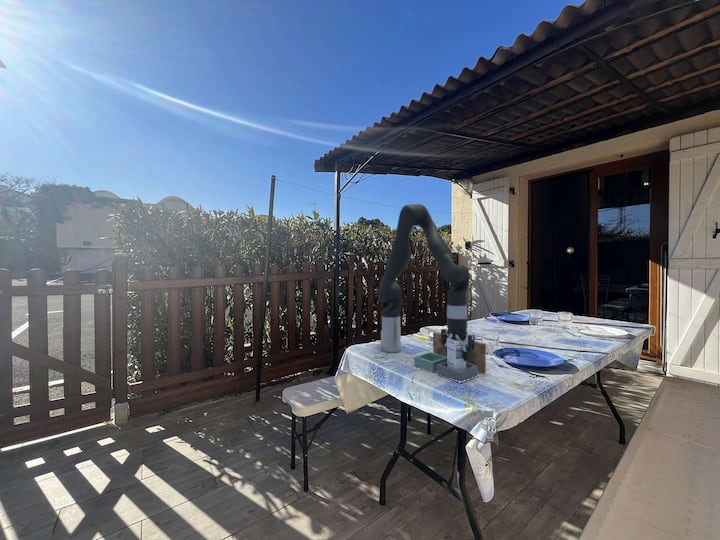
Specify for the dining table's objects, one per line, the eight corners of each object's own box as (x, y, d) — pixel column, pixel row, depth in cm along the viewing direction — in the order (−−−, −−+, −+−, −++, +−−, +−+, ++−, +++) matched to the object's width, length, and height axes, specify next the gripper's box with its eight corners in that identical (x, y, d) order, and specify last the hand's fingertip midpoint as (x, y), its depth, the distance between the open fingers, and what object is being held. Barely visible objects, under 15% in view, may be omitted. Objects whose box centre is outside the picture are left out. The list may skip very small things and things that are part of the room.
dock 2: (437, 374, 123) (437, 364, 123) (454, 368, 130) (454, 358, 130) (461, 383, 114) (461, 372, 114) (478, 375, 121) (478, 365, 121)
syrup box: (455, 379, 119) (454, 341, 118) (446, 373, 124) (446, 337, 124) (468, 377, 120) (468, 339, 119) (459, 371, 126) (459, 336, 125)
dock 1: (414, 365, 134) (414, 356, 133) (430, 360, 140) (429, 351, 139) (432, 372, 126) (432, 362, 125) (448, 366, 132) (448, 357, 131)
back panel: (433, 358, 142) (433, 332, 142) (435, 357, 143) (435, 331, 143) (483, 374, 122) (483, 344, 122) (485, 373, 123) (485, 343, 123)
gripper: (435, 315, 125) (436, 355, 125) (467, 320, 113) (467, 365, 114) (447, 312, 129) (448, 351, 130) (479, 317, 118) (479, 360, 118)
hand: (457, 358), depth 122 cm, fingers closed on syrup box, 7 cm apart
